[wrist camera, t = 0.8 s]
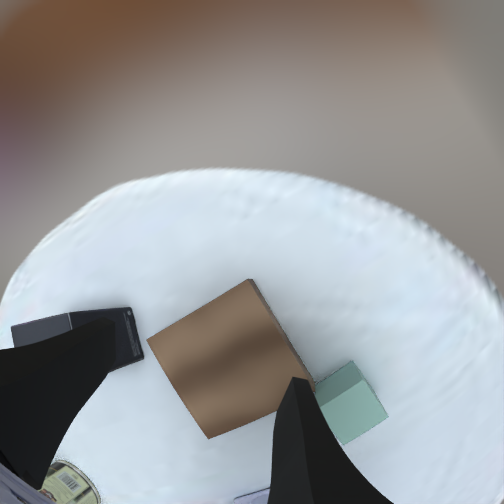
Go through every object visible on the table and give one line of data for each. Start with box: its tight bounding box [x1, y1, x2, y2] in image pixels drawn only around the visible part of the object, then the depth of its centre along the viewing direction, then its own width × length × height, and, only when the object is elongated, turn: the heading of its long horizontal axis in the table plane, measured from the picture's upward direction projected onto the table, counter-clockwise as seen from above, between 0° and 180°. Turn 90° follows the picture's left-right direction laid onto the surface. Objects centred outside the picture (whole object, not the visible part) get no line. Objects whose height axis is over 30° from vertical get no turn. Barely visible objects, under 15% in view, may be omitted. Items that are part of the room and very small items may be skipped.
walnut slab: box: [147, 279, 315, 439], centre depth 28 cm, size 12×12×2 cm
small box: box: [11, 307, 143, 373], centre depth 27 cm, size 11×6×10 cm, turn 104°
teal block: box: [315, 360, 389, 445], centre depth 24 cm, size 4×4×6 cm
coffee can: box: [16, 460, 100, 504], centre depth 24 cm, size 10×10×14 cm
